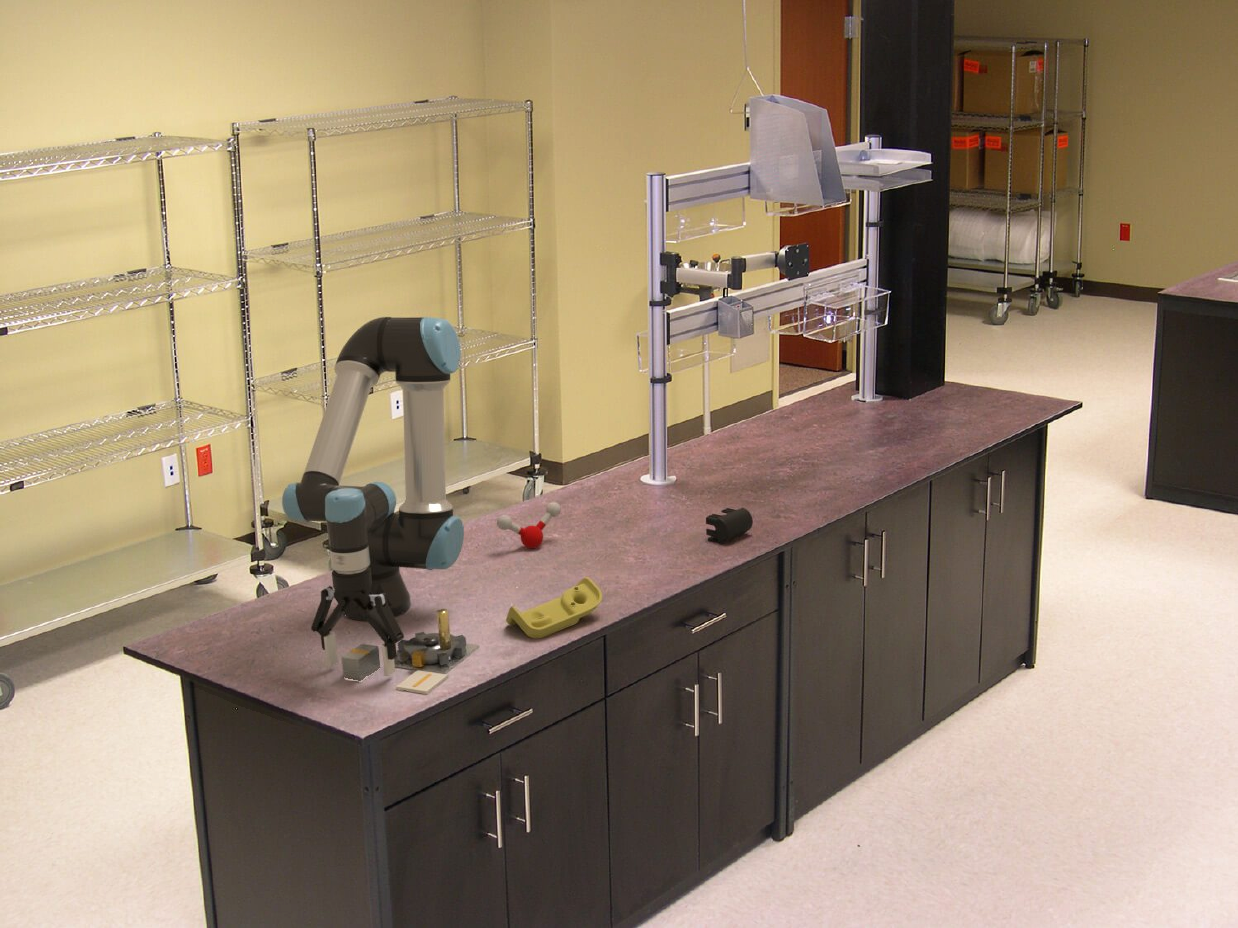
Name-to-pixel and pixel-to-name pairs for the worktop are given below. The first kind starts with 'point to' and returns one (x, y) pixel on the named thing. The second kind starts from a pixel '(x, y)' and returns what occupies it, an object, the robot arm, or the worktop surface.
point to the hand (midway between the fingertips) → (360, 669)
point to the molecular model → (530, 534)
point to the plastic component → (558, 610)
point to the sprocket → (433, 645)
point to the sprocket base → (436, 666)
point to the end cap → (728, 524)
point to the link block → (361, 662)
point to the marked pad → (422, 682)
